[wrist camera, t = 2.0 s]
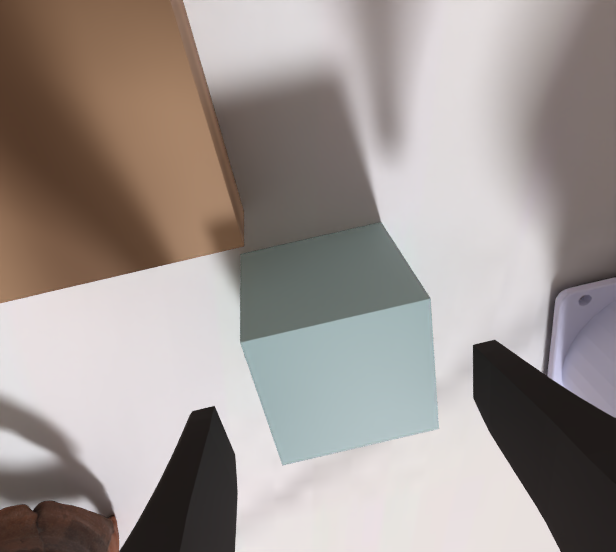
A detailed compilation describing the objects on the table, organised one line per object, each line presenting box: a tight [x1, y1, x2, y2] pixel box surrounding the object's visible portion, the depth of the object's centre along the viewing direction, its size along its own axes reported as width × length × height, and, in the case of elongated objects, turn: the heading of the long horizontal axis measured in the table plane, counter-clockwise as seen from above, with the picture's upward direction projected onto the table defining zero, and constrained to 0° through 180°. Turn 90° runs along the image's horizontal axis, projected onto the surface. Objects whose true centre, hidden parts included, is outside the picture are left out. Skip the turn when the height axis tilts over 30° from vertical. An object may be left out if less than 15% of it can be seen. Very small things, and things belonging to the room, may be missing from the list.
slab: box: [0, 0, 244, 303], centre depth 12 cm, size 8×8×3 cm
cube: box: [240, 222, 439, 465], centre depth 15 cm, size 5×5×5 cm
